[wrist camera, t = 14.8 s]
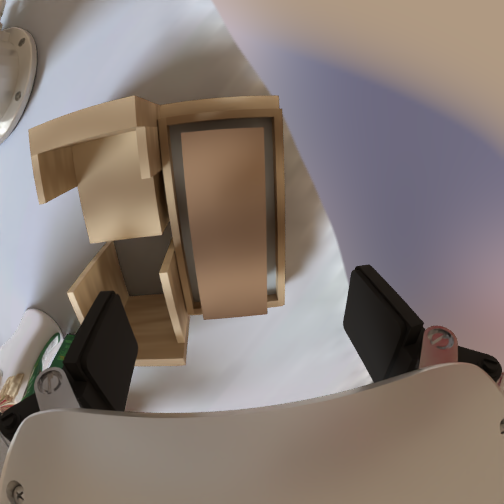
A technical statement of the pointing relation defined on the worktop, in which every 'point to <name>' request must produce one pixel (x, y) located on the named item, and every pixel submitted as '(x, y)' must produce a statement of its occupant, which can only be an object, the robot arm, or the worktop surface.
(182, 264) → the cradle
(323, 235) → the worktop surface
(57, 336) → the beer glass
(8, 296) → the worktop surface
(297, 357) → the worktop surface
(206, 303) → the walnut bar
